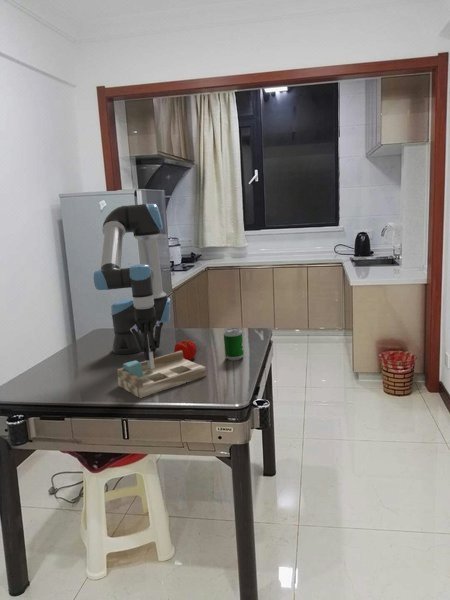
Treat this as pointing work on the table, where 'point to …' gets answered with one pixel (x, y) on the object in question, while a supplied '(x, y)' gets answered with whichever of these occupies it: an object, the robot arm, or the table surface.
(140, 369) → the teal block
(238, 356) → the soda can
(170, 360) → the board
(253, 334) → the table surface
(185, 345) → the tomato
